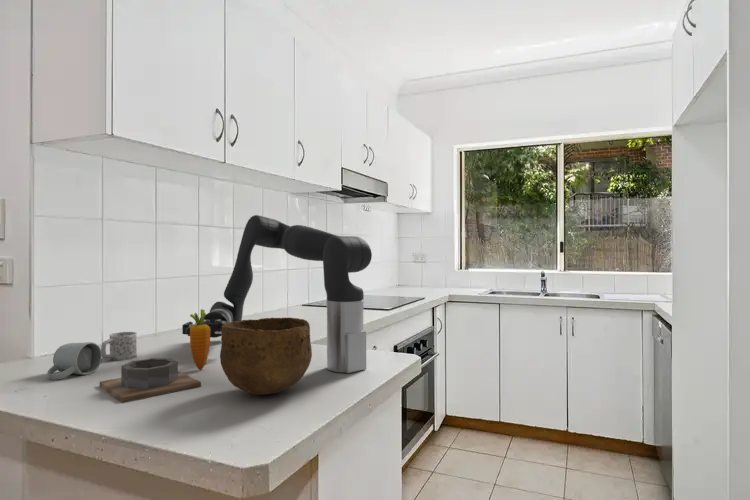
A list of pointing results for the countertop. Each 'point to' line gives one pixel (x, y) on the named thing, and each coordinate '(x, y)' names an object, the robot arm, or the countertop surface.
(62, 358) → the ceramic mug
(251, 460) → the countertop surface
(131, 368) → the ring holder
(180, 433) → the countertop surface
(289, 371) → the bowl
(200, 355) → the carrot
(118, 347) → the mug
